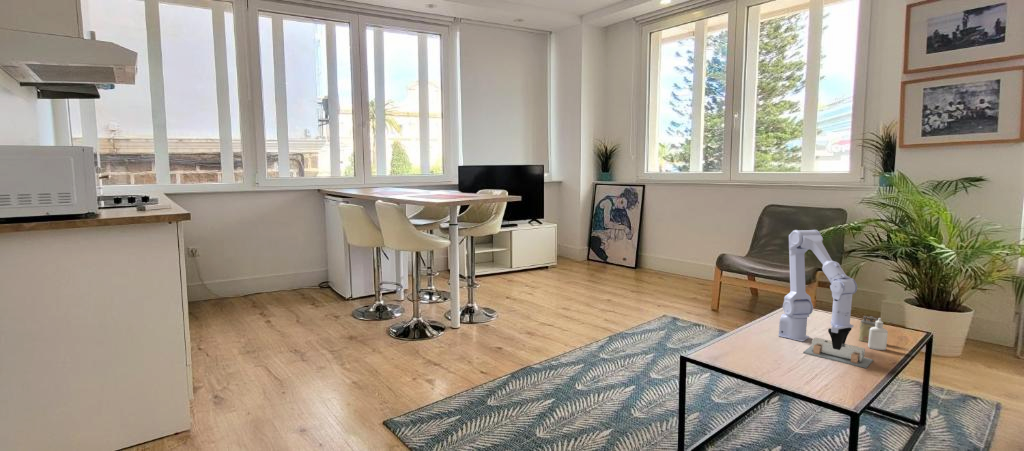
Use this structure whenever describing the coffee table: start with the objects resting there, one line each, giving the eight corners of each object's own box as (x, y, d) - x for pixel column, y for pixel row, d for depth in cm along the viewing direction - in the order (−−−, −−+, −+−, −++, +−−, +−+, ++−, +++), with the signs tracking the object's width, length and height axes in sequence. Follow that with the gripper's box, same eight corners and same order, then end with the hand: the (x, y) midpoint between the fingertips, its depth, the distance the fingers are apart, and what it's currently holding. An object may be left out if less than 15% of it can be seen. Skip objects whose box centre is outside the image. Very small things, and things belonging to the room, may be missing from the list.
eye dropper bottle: (883, 351, 199) (886, 321, 198) (866, 347, 204) (869, 317, 202) (887, 349, 202) (890, 318, 200) (870, 345, 206) (873, 315, 205)
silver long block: (864, 359, 190) (865, 348, 189) (861, 361, 187) (862, 350, 186) (814, 347, 201) (815, 337, 200) (811, 350, 198) (812, 339, 198)
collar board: (803, 353, 197) (803, 344, 197) (811, 346, 204) (812, 337, 204) (866, 368, 183) (867, 358, 183) (873, 360, 190) (874, 351, 190)
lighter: (880, 342, 209) (882, 318, 208) (879, 345, 207) (881, 320, 205) (859, 338, 214) (861, 314, 213) (857, 340, 211) (859, 316, 210)
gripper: (848, 317, 184) (845, 355, 185) (859, 309, 194) (856, 345, 196) (826, 313, 189) (822, 350, 190) (837, 305, 199) (834, 340, 200)
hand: (838, 347), depth 193 cm, fingers closed on silver long block, 4 cm apart
